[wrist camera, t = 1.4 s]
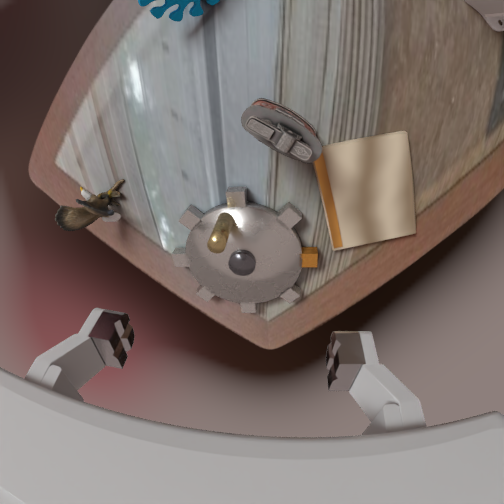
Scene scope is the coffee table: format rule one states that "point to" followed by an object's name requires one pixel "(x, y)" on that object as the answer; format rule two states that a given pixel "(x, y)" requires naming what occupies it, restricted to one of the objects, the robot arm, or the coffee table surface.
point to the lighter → (282, 130)
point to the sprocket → (244, 251)
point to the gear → (177, 14)
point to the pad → (367, 189)
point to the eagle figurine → (89, 210)
